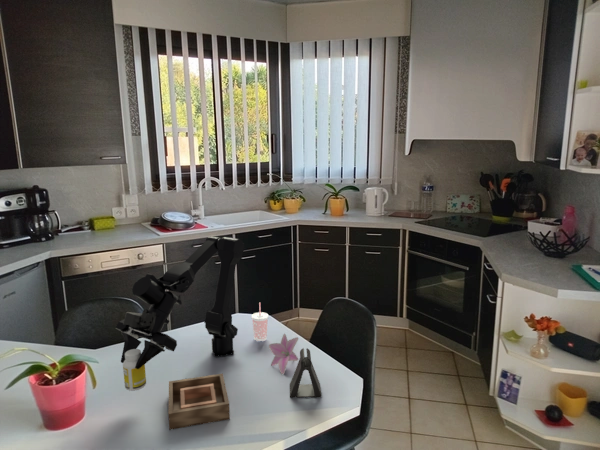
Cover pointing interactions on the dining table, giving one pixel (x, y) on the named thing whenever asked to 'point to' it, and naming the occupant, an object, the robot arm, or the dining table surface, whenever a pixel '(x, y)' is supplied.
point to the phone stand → (295, 386)
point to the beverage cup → (260, 325)
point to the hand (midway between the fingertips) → (129, 365)
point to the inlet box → (197, 401)
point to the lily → (283, 352)
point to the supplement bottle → (133, 371)
